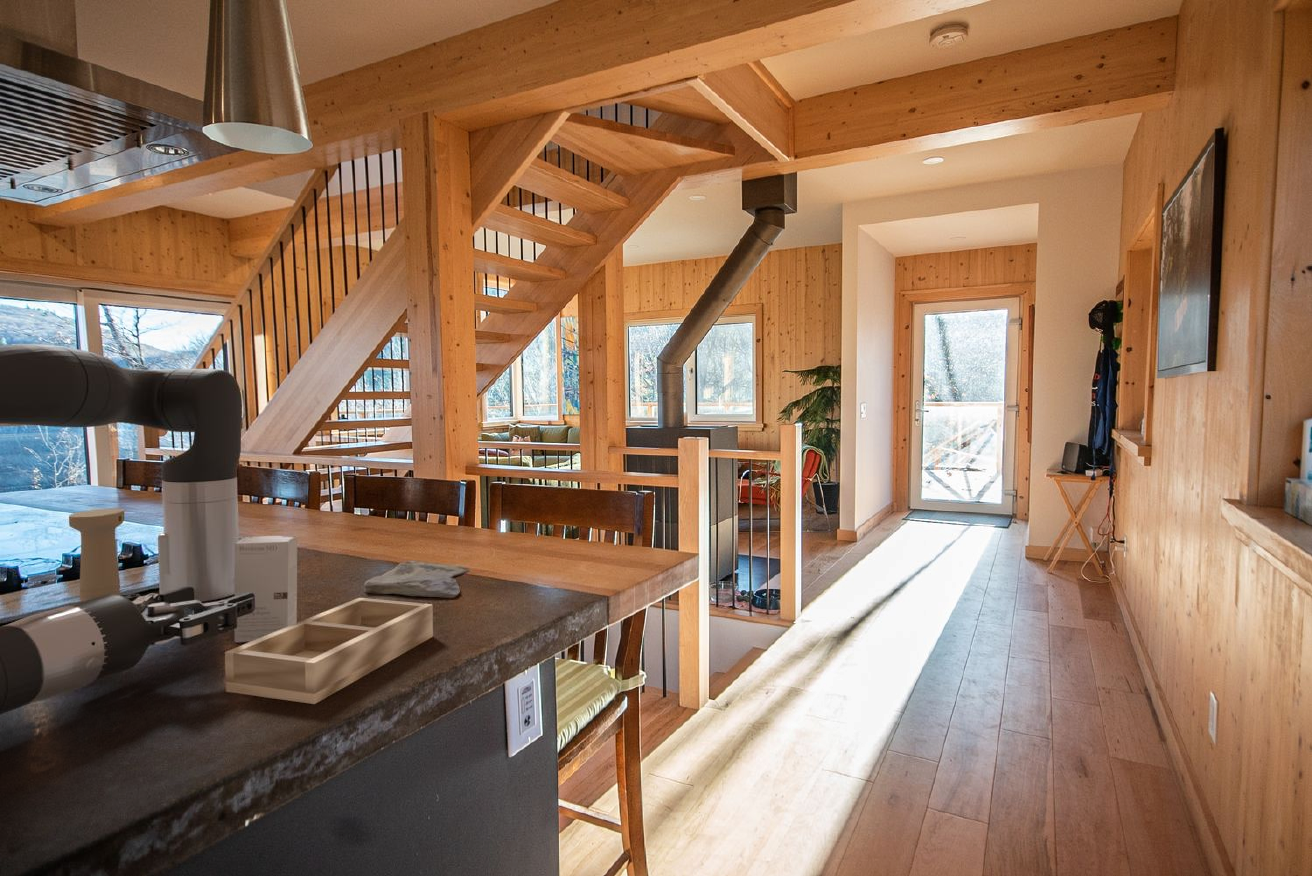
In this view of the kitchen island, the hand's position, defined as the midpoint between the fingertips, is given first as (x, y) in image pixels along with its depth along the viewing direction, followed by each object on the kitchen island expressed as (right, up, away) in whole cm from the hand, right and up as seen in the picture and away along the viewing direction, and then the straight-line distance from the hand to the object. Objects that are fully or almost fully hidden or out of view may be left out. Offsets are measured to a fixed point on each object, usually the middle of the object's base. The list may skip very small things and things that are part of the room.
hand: (221, 598), depth 80 cm
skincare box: (+2, -6, +7) cm, 9 cm away
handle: (-19, -6, +7) cm, 21 cm away
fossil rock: (+13, -6, +32) cm, 35 cm away
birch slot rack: (+14, -7, -2) cm, 16 cm away
